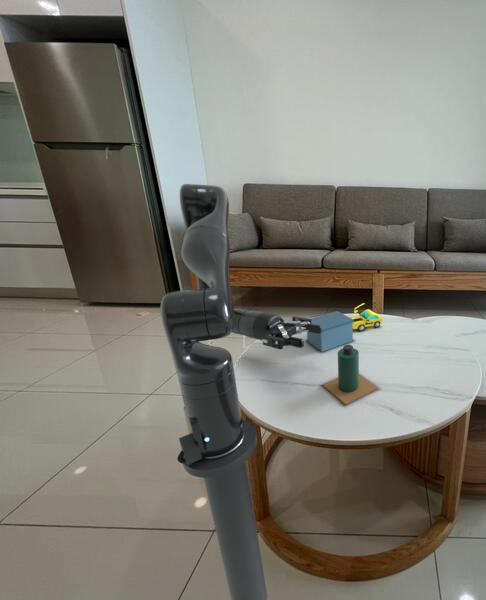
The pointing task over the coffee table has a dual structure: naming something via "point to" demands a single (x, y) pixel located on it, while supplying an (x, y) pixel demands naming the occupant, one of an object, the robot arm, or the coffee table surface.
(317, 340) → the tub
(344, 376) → the bottle
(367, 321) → the toy car
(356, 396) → the mat
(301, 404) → the coffee table surface
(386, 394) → the coffee table surface
